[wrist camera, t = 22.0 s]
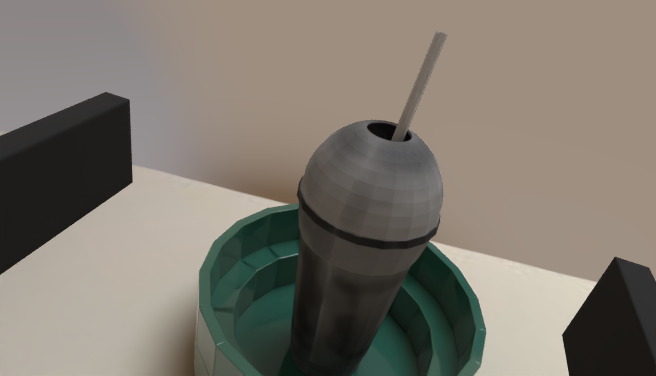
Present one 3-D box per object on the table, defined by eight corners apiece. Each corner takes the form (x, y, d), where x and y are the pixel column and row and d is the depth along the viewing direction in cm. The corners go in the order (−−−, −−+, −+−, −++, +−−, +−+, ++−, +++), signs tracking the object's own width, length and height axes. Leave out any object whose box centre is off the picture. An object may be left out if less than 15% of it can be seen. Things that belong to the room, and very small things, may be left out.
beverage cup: (253, 317, 30) (303, -3, 20) (350, 298, 34) (438, 13, 23) (291, 419, 25) (387, 56, 15) (403, 385, 28) (547, 66, 18)
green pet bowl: (396, 270, 38) (420, 206, 35) (493, 473, 26) (545, 403, 22) (195, 272, 34) (199, 198, 31) (190, 519, 21) (197, 440, 18)
